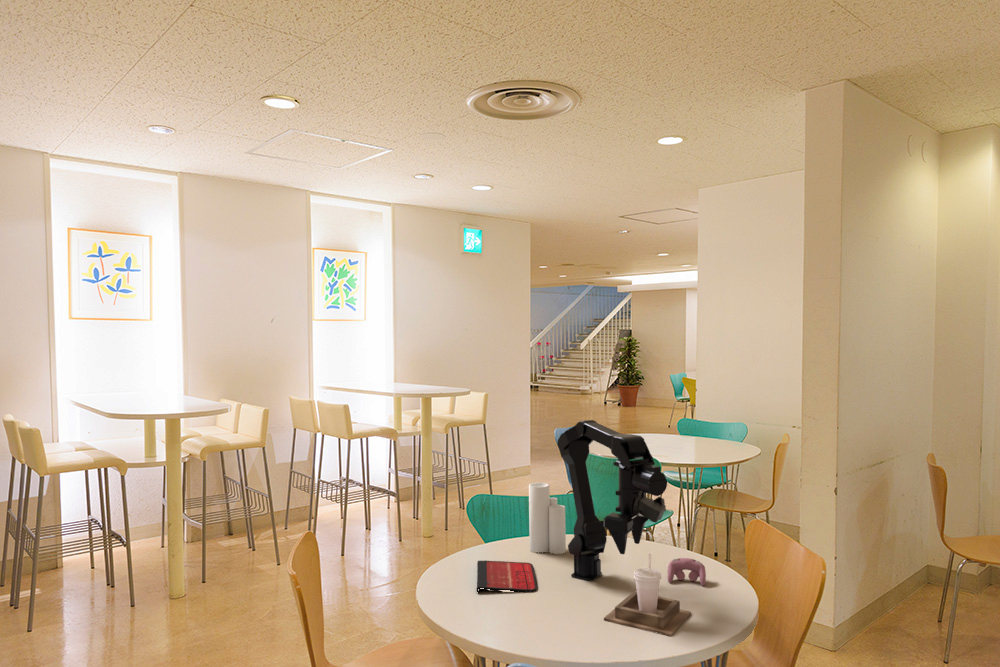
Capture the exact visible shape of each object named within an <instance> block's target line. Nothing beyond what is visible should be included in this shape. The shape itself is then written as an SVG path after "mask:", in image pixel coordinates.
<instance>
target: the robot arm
mask: <svg viewBox="0 0 1000 667" xmlns="http://www.w3.org/2000/svg"><path fill="white" fill-rule="evenodd" d="M593 442H595V443H598V444H599V445H602V446H604V447H606V448H608V449H609V450H610V452H611V454H612V455H613V456H614V457H615V458H616V460H615V461H614V462H613V466H614V467H618V489H617V490H615V496H618V505H617V506H615V512H611V513H609V514H607V515H606V516H604V518H603V520H600V519H599V518H598V516H597V515H596V511H595V506H594V500H593V495H592V491H591V490H592V489H591V483H590V478H589V473H588V468H587V467H588V466H587V460H588V458H589V454H590V445H591V444H592V443H593ZM557 447H558V449H559V454H560V457H561V458H562V459H563V461H564V462H565V463H566V464H567V467H568V472H569V476H570V483H571V484H570V485H571V489H572V495H573V500H574V505H575V512H576V516H577V518H576V520H575V523H574V526H573V538H572V539H571V540H570V542H569V543H568V544H567V550H568V552H569V554H570V555H572V556H573V573H571V574H570V575H571V577H572V578H578V579H581V580H587V581H590V582H591V581H594V580H595V579H597V578H598V577H600V576H601V575H603V572H602V565H601V564H602V563H601V562H602V561H601V559H600V554H603V553H604V552H605V548H606V544H607V539H608V538H607V536H608V533H607V532H606V530H608V532H609V533H610V535H611V538H612V539H613V541H614V543H615V546H616V548H617V550H618V552H619V555H625V554H626V549H627V541H628V535H629V534H630V533H631V536H632V539H633V542H634V544H637V545H639V544H640V542H641V540H642V535H643V532H644V529H645V524H646V523H647V522H648V521H650V522H651V523H658V522H659V521H661V520H662V518H663V515H664V513H665V512H666V511H667V508H666V507H667V505H665V504H666V503H665V499H664V498H663V497H661V495H663V494H664V493H665V491H666V490H667V487H668V480H667V477H666V475H665V474H664V473H663V471H661V466H658V465H655V461H654V457H653V455H652V454H651V452H650V450H649V448H648V445H647V443H646V441H645V438H644V437H643V436H641V435H638V434H631V433H622V432H618V431H616V430H615V429H611V428H609V427H607V426H605V425H602V424H600V423H598V422H597V421H596V420H593V419H588V420H586V419H585V420H580V421H578V422H576V424H575V425H574V426H572V427H570V428H568V429H566V430H565V431H564V432H562V433H561V434H560V436H559V437H558V439H557ZM646 494H649V495H652V496H654V497H656V498H648V497H647V495H646Z"/></svg>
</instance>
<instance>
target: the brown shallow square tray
mask: <svg viewBox="0 0 1000 667" xmlns="http://www.w3.org/2000/svg"><path fill="white" fill-rule="evenodd" d="M680 606H681V605H680V600H677V599H672V598H667V597H662V596H659V595H658V601H657V610H656V614H653V613H648V612H644V611H640V610H639V604H638V596H637V591H632V592H631V593H630V594H629V595H628V596H626V597H625V598H624V599H623V600H622V601H620V603H618V604H617V605H616V606H614V609H613V610H611V611H610V612H609V613H608V614H606V615H605V616H604V617H603V621H606V622H610V623H615V624H619V625H623V626H627V627H631V628H635V629H640V630H642V631H643V630H644V631H648V632H651V631H652V632H653V633H655V632H657V633H656V634H659V633H661V634H660V635H664V636H669V637H672V636H673V635H674V633H676V631H678V629H679V628H680V627H681V626H682V625H683V624H684V623H685V621H687V619H688V618H690V616H691V615H692V611H690V610H686V609H681V607H680Z"/></svg>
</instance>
